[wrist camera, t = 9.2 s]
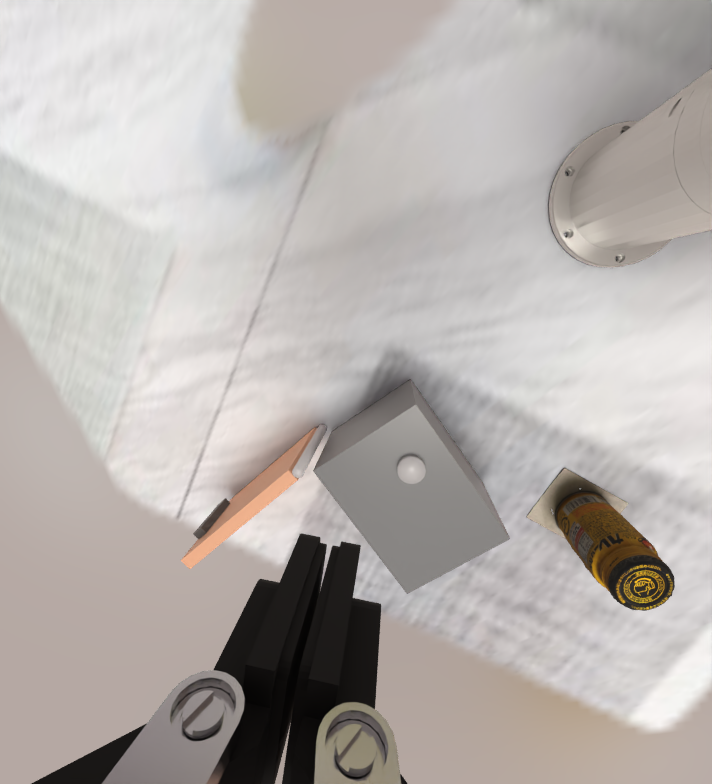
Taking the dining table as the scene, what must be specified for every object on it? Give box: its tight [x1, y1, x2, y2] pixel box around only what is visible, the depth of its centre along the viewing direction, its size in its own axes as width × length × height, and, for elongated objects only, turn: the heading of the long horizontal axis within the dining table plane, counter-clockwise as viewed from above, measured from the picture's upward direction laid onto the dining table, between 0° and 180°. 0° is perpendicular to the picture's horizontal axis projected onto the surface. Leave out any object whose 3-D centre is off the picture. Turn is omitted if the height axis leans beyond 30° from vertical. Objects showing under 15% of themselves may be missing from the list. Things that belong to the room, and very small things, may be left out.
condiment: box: [527, 468, 674, 611], centre depth 40 cm, size 7×8×12 cm
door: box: [181, 425, 327, 569], centre depth 42 cm, size 2×15×12 cm, turn 132°
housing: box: [313, 379, 510, 594], centre depth 41 cm, size 11×15×12 cm
